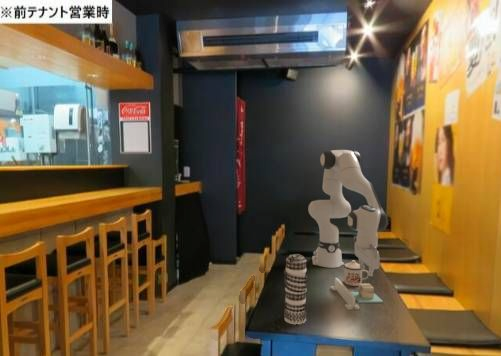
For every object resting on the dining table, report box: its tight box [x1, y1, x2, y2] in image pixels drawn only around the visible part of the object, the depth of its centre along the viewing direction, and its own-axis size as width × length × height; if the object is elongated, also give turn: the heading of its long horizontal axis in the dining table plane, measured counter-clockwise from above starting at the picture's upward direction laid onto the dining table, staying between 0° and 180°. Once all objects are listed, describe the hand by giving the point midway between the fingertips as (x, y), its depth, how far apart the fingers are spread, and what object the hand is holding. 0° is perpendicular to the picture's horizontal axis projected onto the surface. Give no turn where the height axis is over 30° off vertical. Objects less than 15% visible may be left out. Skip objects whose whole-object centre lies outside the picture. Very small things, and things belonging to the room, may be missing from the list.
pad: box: [350, 291, 384, 304], centre depth 152 cm, size 11×11×1 cm
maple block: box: [358, 283, 375, 299], centre depth 152 cm, size 5×5×5 cm
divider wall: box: [330, 277, 361, 311], centre depth 151 cm, size 24×5×5 cm, turn 3°
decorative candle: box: [283, 253, 309, 325], centre depth 130 cm, size 9×9×25 cm
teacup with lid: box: [343, 259, 370, 287], centre depth 170 cm, size 12×9×12 cm
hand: (366, 272), depth 152 cm, fingers open, 8 cm apart
